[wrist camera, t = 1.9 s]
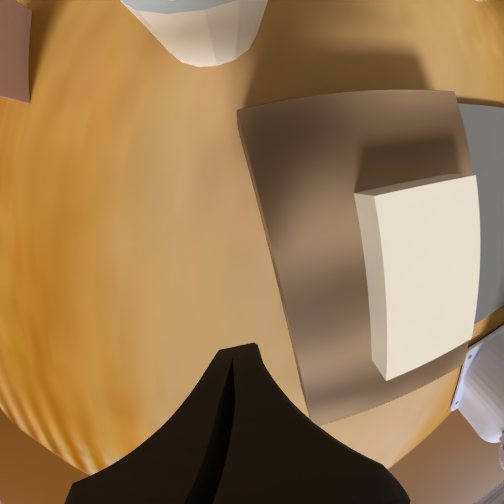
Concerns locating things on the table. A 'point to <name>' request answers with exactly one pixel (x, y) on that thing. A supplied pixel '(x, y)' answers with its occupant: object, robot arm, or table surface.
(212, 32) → the white cup
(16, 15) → the greeting card
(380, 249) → the tile
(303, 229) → the platform
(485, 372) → the robot arm
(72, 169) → the table surface
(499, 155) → the mat
